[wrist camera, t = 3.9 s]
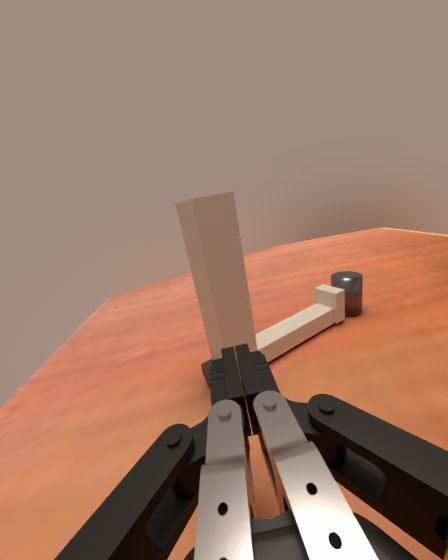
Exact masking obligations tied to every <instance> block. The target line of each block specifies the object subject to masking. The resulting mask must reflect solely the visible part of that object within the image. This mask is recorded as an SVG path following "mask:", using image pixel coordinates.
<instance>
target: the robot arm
mask: <svg viewBox="0 0 448 560" xmlns="http://www.w3.org/2000/svg"><path fill="white" fill-rule="evenodd" d="M235 351H236V355H235ZM221 353H222V358H220V359H215V360H213V362H212V364H211V366H210V381H211V404H212V406H211V409H210V411H209V414H208V416H207V418H206V419H205V420H204V421H202V422H201V423H199V424H198V425H196V426H194V427H192V428H189V427H188V426H187V425H184V424H175V425H172V426H170V427H168V428H167V429H166V430H165V431H164V432H163V433H162V434H161V435H160V436H159V437H158V438H157V440H156V441H155V442H154V443H153V444H152V445H151V447H150V448H149V449H148V450H147V451H146V452H145V454H144V455H143V456H142V457H141V458H140V460H139V461H138V462H137V463H136V464H135V465H134V467H133V468H132V469H131V470H130V471H129V472H128V474H127V475H126V476H125V477H124V478H123V479H122V481H121V482H120V483H119V484H118V485H117V486H116V488H115V489H114V490H113V491H112V492H111V494H110V495H109V496H108V497H107V498H106V499H105V501H104V502H103V503H102V504H101V505H100V506H99V508H98V509H97V510H96V511H95V512H94V513H93V515H92V516H91V517H90V518H89V519H88V520H87V522H86V523H85V524H84V525H83V526H82V528H81V529H80V530H79V531H78V532H77V533H76V535H75V536H74V537H73V538H72V539H71V540H70V542H69V543H68V544H67V545H66V546H65V547H64V549H63V550H62V551H61V552H60V553H59V554H58V556H57V557H56V558H55V559H54V560H167V559H168V557H169V555H170V553H171V551H172V550H173V548H174V546H175V544H176V543H177V541H178V539H179V537H180V535H181V534H182V532H183V530H184V528H185V527H186V525H187V523H188V521H189V520H190V518H191V516H192V514H193V512H194V511H195V509H196V507H197V505H198V512H197V526H196V539H195V547H194V548H193V549H192V550H191V551H190V552H189V553H188V555H187V556H186V557H185V559H184V560H418V559H417V558H415V557H414V556H413V555H412V554H411V553H409V552H408V551H407V550H406V549H404V548H403V547H402V546H401V545H400V544H398V543H397V542H396V541H395V540H393V539H392V538H391V537H390V536H389V535H387V534H386V533H385V532H384V531H382V530H381V529H380V528H379V527H377V526H376V525H375V524H373V523H372V522H370V521H369V520H367V519H366V518H364V517H362V516H360V515H358V514H357V513H354V512H352V511H351V509H350V507H349V505H348V503H347V501H346V500H345V498H344V496H343V494H342V492H341V491H340V489H339V487H338V485H337V483H336V482H335V481H337V482H338V483H339V484H341V485H342V486H343V487H345V488H346V489H347V490H349V491H350V492H351V493H353V494H354V495H356V496H357V497H358V498H360V499H361V500H362V501H364V502H365V503H366V504H368V505H369V506H370V507H372V508H373V509H375V510H376V511H377V512H379V513H380V514H381V515H383V516H384V517H385V518H387V519H388V520H389V521H391V522H392V523H393V524H395V525H396V526H398V527H399V528H400V529H402V530H403V531H404V532H406V533H407V534H408V535H410V536H411V537H412V538H414V539H415V540H417V541H418V542H419V543H421V544H422V545H423V546H425V547H426V548H427V549H429V550H430V551H431V552H433V553H434V554H436V555H437V556H438V557H440V558H441V559H442V560H448V451H446V450H444V449H442V448H440V447H438V446H436V445H434V444H431V443H429V442H427V441H425V440H423V439H421V438H419V437H417V436H415V435H413V434H411V433H409V432H406V431H404V430H402V429H400V428H398V427H396V426H394V425H392V424H390V423H388V422H386V421H384V420H382V419H379V418H377V417H375V416H373V415H371V414H369V413H367V412H365V411H363V410H361V409H359V408H357V407H355V406H352V405H350V404H348V403H346V402H344V401H342V400H340V399H338V398H336V397H334V396H331V395H328V394H318V395H315V396H313V397H312V398H311V399H310V400H309V402H308V403H299V402H293V401H290V400H288V399H286V398H285V397H284V396H283V395H281V393H280V392H279V389H278V387H277V385H276V382H275V380H274V377H273V375H272V372H271V370H270V368H269V365H268V363H267V360H266V358H265V355H263V354H262V353H261V352H260V351H259V350H258V351H254V352H250V350H249V347H248V344H247V343H246V344H241V345H236V346H235V350H234V346H232V347H227V348H222V349H221ZM236 356H237V360H236ZM237 361H238V364H237ZM238 366H239V369H238ZM239 371H240V373H239ZM240 376H241V378H240ZM241 381H242V383H241ZM242 386H243V387H242ZM243 390H244V392H243ZM244 395H245V396H244ZM245 399H246V402H245ZM246 404H247V407H246ZM247 408H248V412H247ZM248 413H249V417H250V422H251V426H252V431H253V435H257V434H258V436H259V441H260V445H261V451H262V455H263V458H264V461H265V464H266V467H267V471H268V474H269V477H270V480H271V483H272V486H273V490H274V493H275V496H276V499H277V503H278V506H279V510H280V515H279V516H277V517H276V518H274V519H271V520H267V519H258V517H257V511H256V503H255V494H254V486H253V477H252V468H251V460H250V445H249V440H248V436H252V433H251V428H250V423H249V417H248Z"/></svg>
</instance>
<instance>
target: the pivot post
mask: <svg viewBox="0 0 448 560" xmlns="http://www.w3.org/2000/svg"><path fill="white" fill-rule="evenodd" d="M362 277H363V276H362V274H360V273H357V272H350V271H345V272H337V273H334V274H332V275H331V286H332V287H336V288H340V289H344V290H345V317H354V316H358V315H360V314H361V313H362Z"/></svg>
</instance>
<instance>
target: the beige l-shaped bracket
mask: <svg viewBox="0 0 448 560" xmlns="http://www.w3.org/2000/svg"><path fill="white" fill-rule="evenodd" d="M176 207H177V211H178V216H179V220H180V224H181V228H182V233H183V237H184V242H185V246H186V250H187V254H188V258H189V263H190V267H191V272H192V276H193V280H194V284H195V289H196V293H197V297H198V301H199V306H200V310H201V314H202V319H203V323H204V327H205V331H206V336H207V340H208V344H209V349H210V353H211V357H212V359H211V360H209V361H207V362H205V363H203V364H202V365H201V367H202V371H203V374H204V377H205V379H206V381H207V383H208V384H209V386H210V387H211V381H210V366H211V364H212V362H213V360H215V359H220V358H222V353H221V349H222V348H227V347H232V346H234V350H235V346H236V345H241V344H246V343H247V344H248V347H249V350H250V352H254V351H258V350H259V351H260V352H261V353H262V354H263V355H265V358H266V360H267V362H269V361H271V360H272V359H274V358H276V357H278V356H279V355H281V354H283V353H284V352H286V351H288V350H289V349H291V348H293V347H294V346H296V345H298V344H299V343H301V342H303V341H305V340H306V339H308V338H310V337H311V336H313V335H315V334H316V333H318V332H320V331H321V330H323V329H325V328H326V327H328V326H330V325H332V324H333V323H336V324H337V323H339V322H340V321H342V320H344V319H345V290H344V289H340V288H336V287H332V286H328V285H324V284H323V285H320V286H318V287H316V288H315V300H316V304H314V305H312V306H310V307H308V308H306V309H304V310H302V311H301V312H299V313H297V314H295V315H293V316H291V317H289V318H287V319H285V320H283V321H281V322H279V323H277V324H275V325H273V326H271V327H269V328H267V329H265V330H263V331H261V332H259V333H258V334H256V335H255V330H254V323H253V317H252V310H251V304H250V297H249V291H248V284H247V278H246V271H245V265H244V258H243V253H242V246H241V239H240V233H239V226H238V220H237V213H236V207H235V201H234V194H233V192H230V193H224V194H218V195H212V196H206V197H200V198H195V199H190V200H186V201H182V202H178V203H176ZM235 355H236V351H235ZM236 360H237V356H236ZM237 364H238V361H237ZM238 369H239V366H238ZM239 373H240V371H239ZM240 378H241V376H240ZM241 383H242V381H241Z"/></svg>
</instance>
